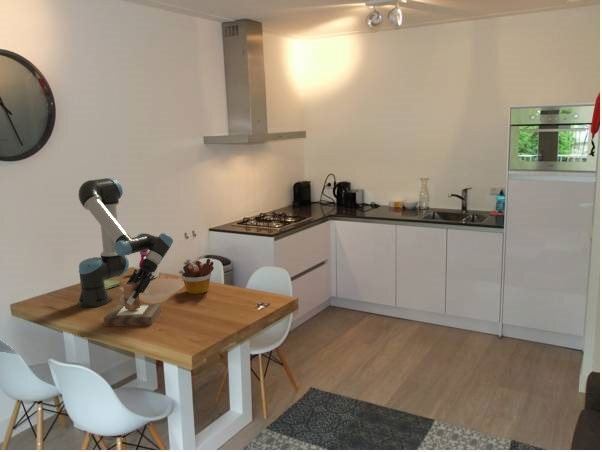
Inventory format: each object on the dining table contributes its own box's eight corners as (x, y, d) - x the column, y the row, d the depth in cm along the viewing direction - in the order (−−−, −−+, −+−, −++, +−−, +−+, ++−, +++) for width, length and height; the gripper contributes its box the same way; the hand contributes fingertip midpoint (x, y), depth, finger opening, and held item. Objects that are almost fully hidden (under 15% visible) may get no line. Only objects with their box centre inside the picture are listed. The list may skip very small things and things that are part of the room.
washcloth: (105, 291, 301) (105, 286, 300) (84, 288, 309) (83, 282, 308) (123, 285, 312) (122, 280, 311) (101, 281, 320) (101, 276, 319)
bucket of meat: (174, 293, 294) (172, 258, 290) (195, 285, 308) (193, 252, 304) (202, 298, 284) (200, 262, 280) (221, 290, 298) (220, 255, 294)
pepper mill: (141, 270, 341) (138, 240, 337) (152, 270, 342) (150, 240, 338) (138, 273, 334) (136, 243, 330) (150, 273, 335) (147, 242, 331)
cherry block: (131, 310, 251) (129, 286, 249) (125, 308, 254) (123, 284, 252) (140, 307, 255) (138, 283, 253) (134, 305, 258) (132, 282, 256)
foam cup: (146, 280, 319) (145, 259, 317) (143, 276, 327) (142, 256, 325) (162, 278, 323) (161, 257, 321) (159, 274, 332) (157, 254, 329)
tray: (104, 326, 247) (103, 317, 246) (116, 312, 264) (115, 304, 264) (151, 324, 247) (151, 316, 246) (160, 311, 265) (160, 303, 264)
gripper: (167, 268, 258) (141, 310, 248) (145, 263, 269) (119, 303, 259) (157, 260, 253) (131, 302, 243) (135, 255, 264) (109, 295, 254)
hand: (125, 302), depth 251 cm, fingers closed on cherry block, 5 cm apart
